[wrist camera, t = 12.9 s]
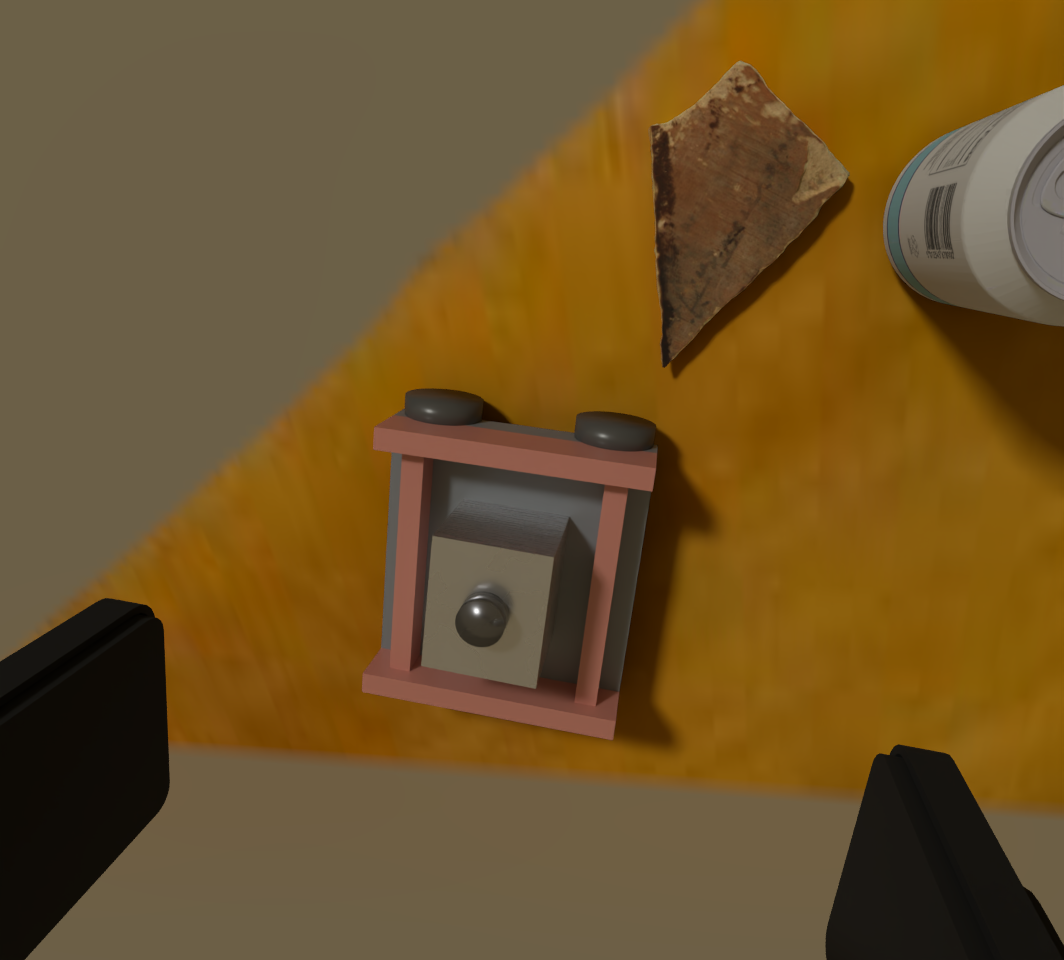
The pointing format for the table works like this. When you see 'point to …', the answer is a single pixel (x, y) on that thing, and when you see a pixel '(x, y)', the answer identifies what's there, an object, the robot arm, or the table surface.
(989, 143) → the beverage can
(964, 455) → the table surface
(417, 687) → the chassis
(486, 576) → the cube with metal knob
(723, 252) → the shard
